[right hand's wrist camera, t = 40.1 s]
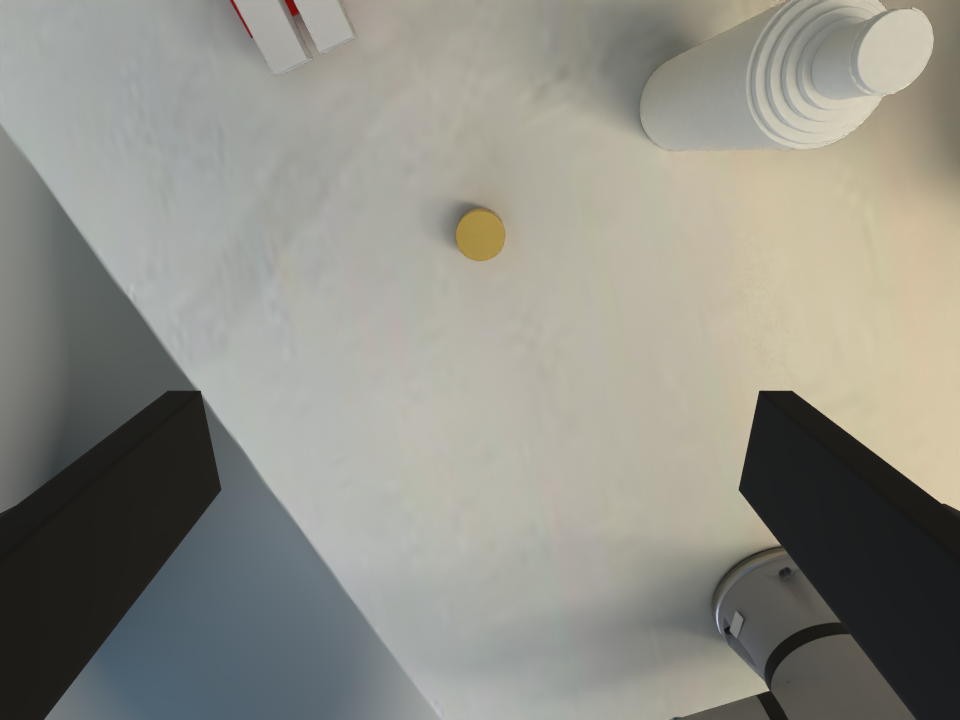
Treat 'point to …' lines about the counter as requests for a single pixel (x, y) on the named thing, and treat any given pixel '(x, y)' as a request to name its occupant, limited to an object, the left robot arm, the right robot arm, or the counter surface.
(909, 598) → the right robot arm
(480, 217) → the cap
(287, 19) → the toy
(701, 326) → the counter surface
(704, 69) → the bottle
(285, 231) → the counter surface
